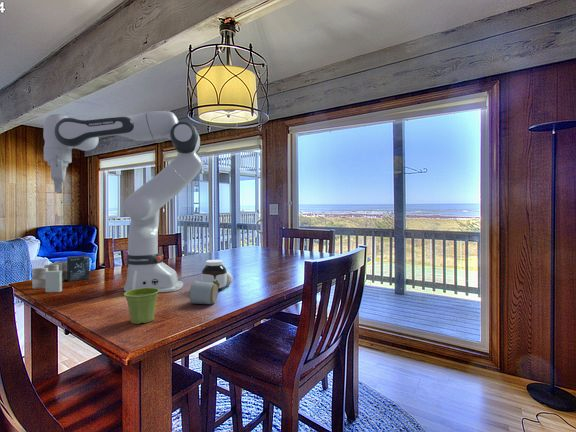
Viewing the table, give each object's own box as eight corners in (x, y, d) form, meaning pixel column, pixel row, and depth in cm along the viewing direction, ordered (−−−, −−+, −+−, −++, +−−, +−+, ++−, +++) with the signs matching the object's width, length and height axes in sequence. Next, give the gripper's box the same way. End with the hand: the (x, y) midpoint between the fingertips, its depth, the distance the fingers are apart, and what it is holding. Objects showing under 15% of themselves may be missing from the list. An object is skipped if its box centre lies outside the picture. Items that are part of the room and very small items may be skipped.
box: (69, 281, 138) (69, 258, 138) (66, 279, 142) (66, 256, 142) (90, 279, 144) (89, 256, 143) (87, 277, 148) (86, 254, 148)
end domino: (68, 278, 144) (68, 261, 144) (66, 279, 143) (66, 262, 142) (56, 279, 143) (56, 261, 143) (54, 279, 142) (54, 262, 142)
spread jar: (199, 291, 124) (199, 262, 124) (206, 284, 135) (206, 257, 135) (229, 291, 124) (230, 262, 124) (234, 284, 136) (234, 258, 135)
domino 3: (64, 280, 140) (63, 262, 140) (62, 281, 139) (61, 263, 139) (51, 281, 140) (51, 263, 139) (49, 281, 138) (49, 263, 138)
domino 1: (48, 287, 129) (48, 267, 129) (46, 288, 127) (45, 268, 127) (35, 287, 128) (34, 268, 128) (32, 288, 127) (32, 268, 127)
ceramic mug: (212, 307, 105) (212, 284, 105) (188, 306, 106) (188, 283, 106) (221, 298, 116) (221, 277, 116) (199, 297, 116) (199, 277, 116)
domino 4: (62, 290, 124) (61, 270, 124) (59, 291, 122) (59, 271, 122) (48, 291, 123) (47, 270, 123) (45, 292, 122) (45, 271, 121)
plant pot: (116, 324, 90) (116, 294, 89) (142, 313, 98) (142, 286, 98) (141, 328, 86) (141, 297, 86) (166, 317, 95) (166, 289, 95)
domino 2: (59, 282, 137) (58, 264, 136) (57, 283, 135) (56, 265, 135) (46, 283, 136) (46, 264, 136) (44, 283, 134) (43, 265, 134)
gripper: (67, 154, 116) (67, 192, 116) (68, 161, 133) (68, 193, 133) (45, 152, 112) (46, 191, 113) (49, 159, 129) (50, 193, 130)
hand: (58, 192), depth 123 cm, fingers open, 8 cm apart
